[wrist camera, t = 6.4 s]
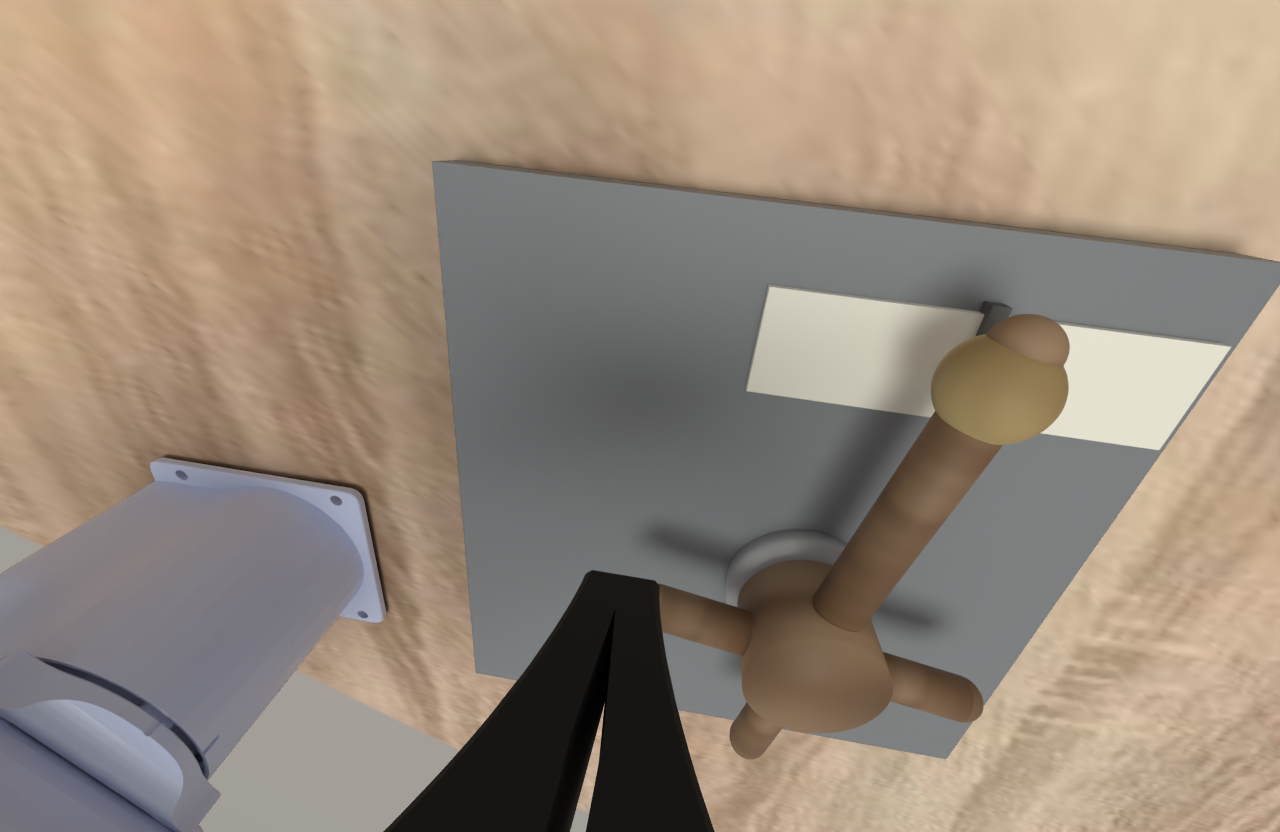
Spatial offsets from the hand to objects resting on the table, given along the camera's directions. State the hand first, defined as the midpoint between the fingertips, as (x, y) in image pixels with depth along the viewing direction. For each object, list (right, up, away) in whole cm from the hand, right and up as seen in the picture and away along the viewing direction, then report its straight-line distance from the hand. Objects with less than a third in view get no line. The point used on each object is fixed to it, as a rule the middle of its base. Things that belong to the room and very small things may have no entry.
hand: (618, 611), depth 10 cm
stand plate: (+5, 0, +10) cm, 11 cm away
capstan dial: (+7, -1, +7) cm, 10 cm away
